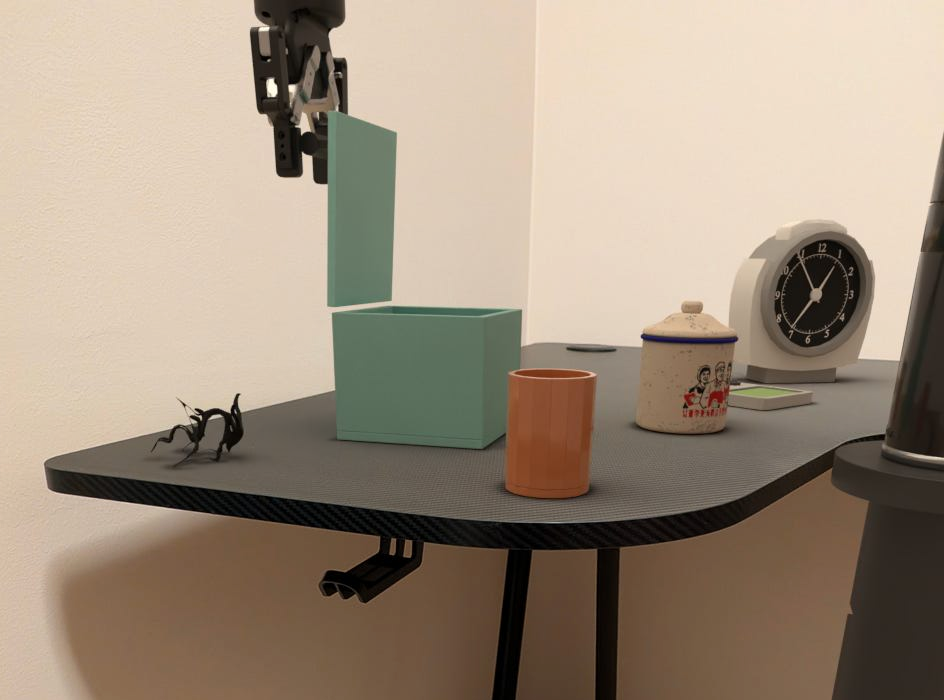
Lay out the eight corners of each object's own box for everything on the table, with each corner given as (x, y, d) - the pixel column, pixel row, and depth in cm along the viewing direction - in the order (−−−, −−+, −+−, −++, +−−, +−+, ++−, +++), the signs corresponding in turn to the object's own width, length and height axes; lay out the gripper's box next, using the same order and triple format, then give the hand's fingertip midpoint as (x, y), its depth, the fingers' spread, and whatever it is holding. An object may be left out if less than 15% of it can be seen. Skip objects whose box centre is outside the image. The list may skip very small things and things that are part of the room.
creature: (152, 483, 70) (253, 458, 71) (127, 414, 68) (231, 389, 68) (164, 462, 77) (256, 439, 78) (142, 399, 75) (236, 376, 76)
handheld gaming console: (709, 376, 116) (816, 388, 105) (708, 388, 116) (813, 402, 106) (658, 381, 110) (766, 395, 99) (657, 395, 111) (764, 410, 100)
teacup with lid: (691, 438, 84) (706, 304, 79) (614, 425, 90) (623, 300, 85) (761, 424, 91) (777, 301, 87) (685, 413, 98) (697, 298, 93)
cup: (594, 482, 67) (602, 370, 64) (581, 501, 62) (588, 380, 59) (516, 476, 69) (519, 367, 66) (495, 494, 63) (498, 376, 60)
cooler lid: (397, 132, 83) (342, 129, 85) (336, 110, 71) (274, 108, 73) (391, 301, 89) (341, 296, 91) (335, 307, 77) (277, 302, 79)
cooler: (518, 424, 90) (522, 309, 86) (482, 449, 78) (484, 317, 74) (390, 416, 94) (388, 305, 90) (336, 439, 82) (331, 312, 78)
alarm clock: (746, 385, 120) (768, 217, 112) (715, 377, 128) (734, 219, 120) (865, 382, 124) (894, 220, 116) (828, 375, 132) (853, 222, 124)
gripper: (300, -79, 67) (312, 173, 73) (372, -25, 80) (377, 186, 86) (210, -71, 69) (229, 174, 75) (295, -19, 81) (305, 187, 88)
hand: (308, 180), depth 81 cm, fingers open, 7 cm apart
